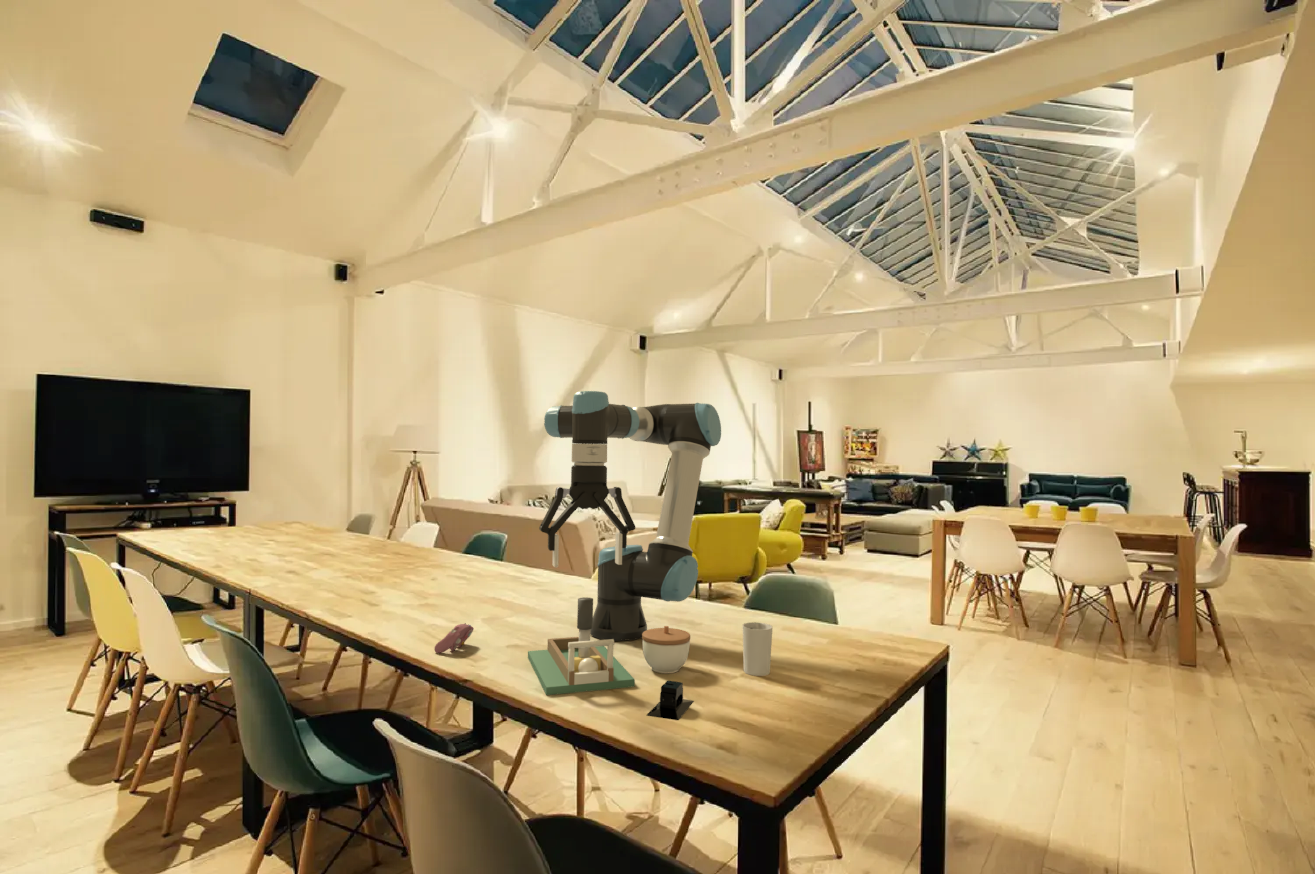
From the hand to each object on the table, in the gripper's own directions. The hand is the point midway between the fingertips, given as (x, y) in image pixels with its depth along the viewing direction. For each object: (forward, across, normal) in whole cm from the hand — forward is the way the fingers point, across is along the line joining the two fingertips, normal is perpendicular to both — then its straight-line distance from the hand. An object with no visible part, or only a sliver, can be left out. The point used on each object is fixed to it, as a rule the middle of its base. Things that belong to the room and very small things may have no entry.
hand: (587, 565), depth 138 cm
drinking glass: (+24, +38, -5) cm, 45 cm away
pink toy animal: (+24, -25, +29) cm, 46 cm away
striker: (+22, 0, -1) cm, 22 cm away
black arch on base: (+24, +12, -20) cm, 34 cm away
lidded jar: (+24, +18, +2) cm, 31 cm away
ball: (+20, 0, -4) cm, 21 cm away
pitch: (+24, 0, +5) cm, 24 cm away
